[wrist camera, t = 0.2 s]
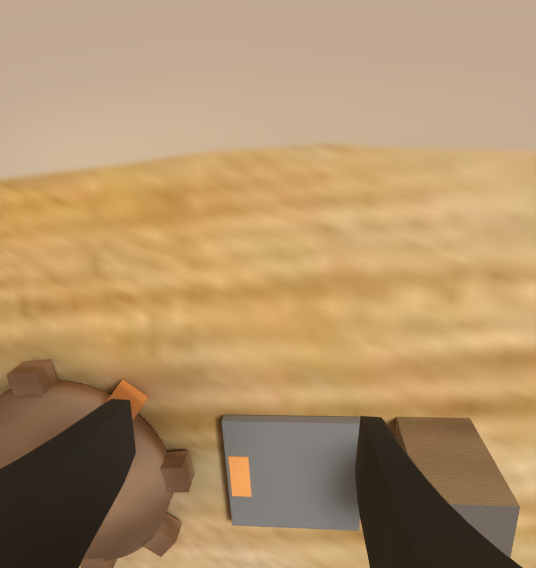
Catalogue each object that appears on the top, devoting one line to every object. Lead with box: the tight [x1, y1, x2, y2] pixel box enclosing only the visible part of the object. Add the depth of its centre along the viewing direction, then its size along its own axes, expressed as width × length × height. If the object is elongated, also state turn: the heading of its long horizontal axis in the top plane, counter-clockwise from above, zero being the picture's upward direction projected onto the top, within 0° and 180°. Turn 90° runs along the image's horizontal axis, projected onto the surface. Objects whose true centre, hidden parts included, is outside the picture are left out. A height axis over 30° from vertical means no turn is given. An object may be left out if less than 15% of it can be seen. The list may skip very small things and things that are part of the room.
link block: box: [395, 417, 520, 558], centre depth 22 cm, size 4×4×6 cm
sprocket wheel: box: [0, 360, 194, 568], centre depth 24 cm, size 16×16×5 cm
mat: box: [222, 415, 360, 531], centre depth 25 cm, size 8×8×1 cm
